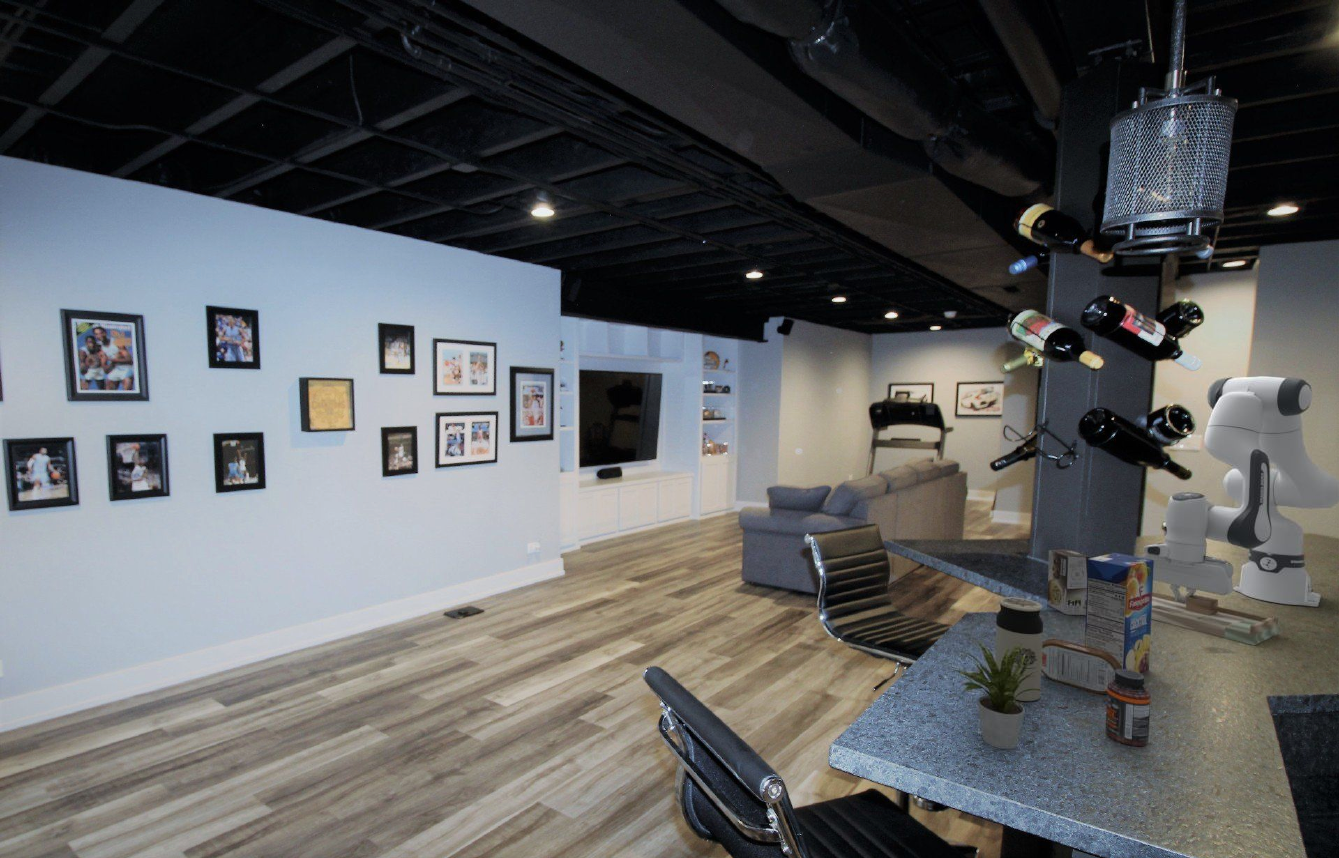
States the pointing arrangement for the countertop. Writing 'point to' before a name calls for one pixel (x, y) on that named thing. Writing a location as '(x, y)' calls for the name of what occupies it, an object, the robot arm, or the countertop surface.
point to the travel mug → (1021, 641)
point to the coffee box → (1067, 581)
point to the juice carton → (1120, 608)
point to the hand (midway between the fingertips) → (1182, 602)
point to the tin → (1078, 665)
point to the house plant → (999, 698)
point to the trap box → (1215, 620)
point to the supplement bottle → (1128, 708)
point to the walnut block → (1201, 604)
